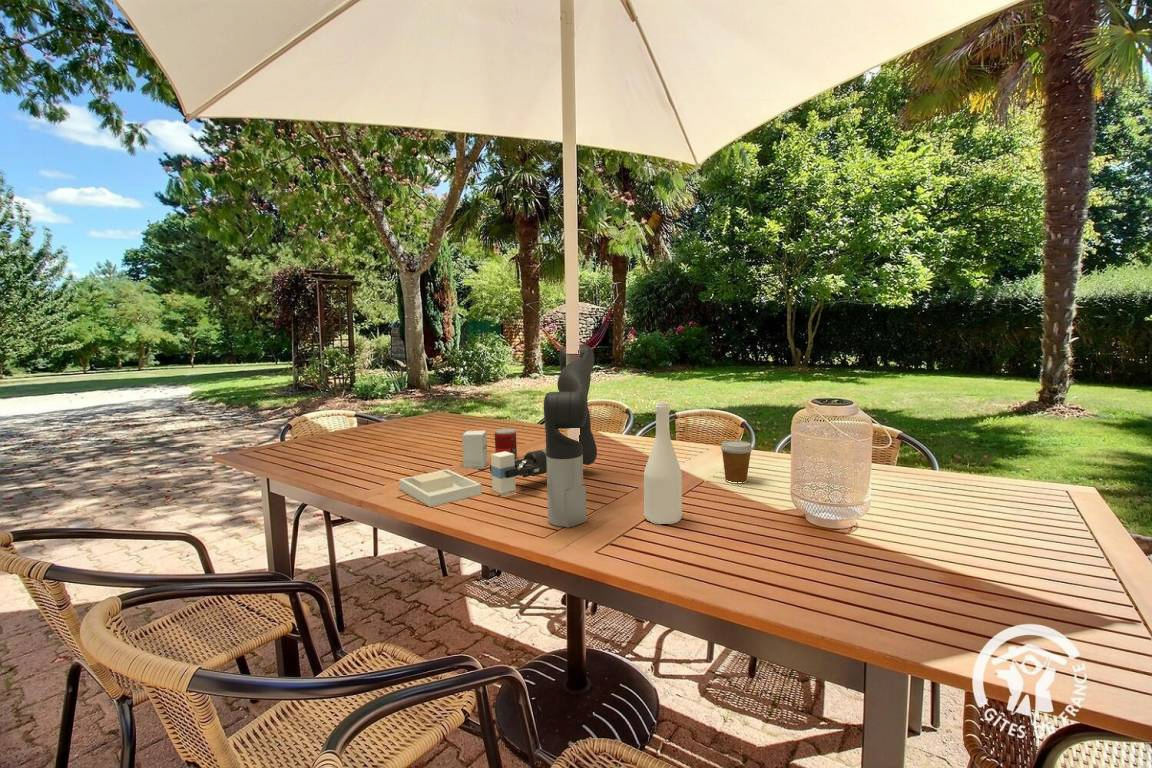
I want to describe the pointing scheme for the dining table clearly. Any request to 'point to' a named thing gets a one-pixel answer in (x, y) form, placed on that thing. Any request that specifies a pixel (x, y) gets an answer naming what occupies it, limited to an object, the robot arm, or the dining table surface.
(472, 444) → the supplement box
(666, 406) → the wine bottle
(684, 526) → the dining table surface
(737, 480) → the brown clear cup
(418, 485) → the cream rectangular block
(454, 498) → the tray
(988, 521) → the dining table surface
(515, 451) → the canned food
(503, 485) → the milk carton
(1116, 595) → the dining table surface
